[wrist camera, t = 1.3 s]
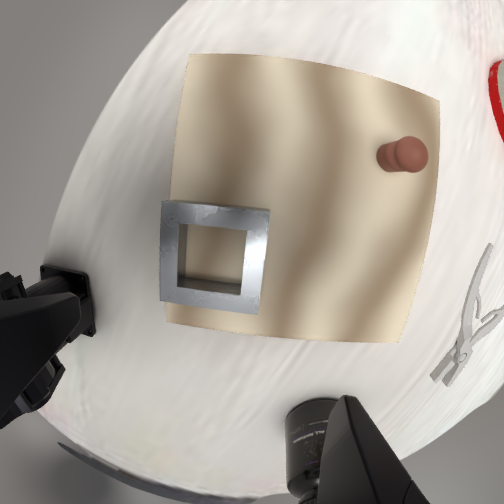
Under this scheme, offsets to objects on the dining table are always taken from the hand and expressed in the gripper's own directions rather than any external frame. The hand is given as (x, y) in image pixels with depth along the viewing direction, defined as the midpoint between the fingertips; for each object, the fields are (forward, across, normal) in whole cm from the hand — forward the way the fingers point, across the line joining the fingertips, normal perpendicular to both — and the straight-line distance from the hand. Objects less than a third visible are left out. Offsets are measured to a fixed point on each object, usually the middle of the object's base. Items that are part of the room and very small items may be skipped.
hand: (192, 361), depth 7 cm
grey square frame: (+11, +3, +1) cm, 11 cm away
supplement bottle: (+13, -10, +16) cm, 23 cm away
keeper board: (+14, -2, -4) cm, 14 cm away
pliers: (+17, -24, +2) cm, 29 cm away
